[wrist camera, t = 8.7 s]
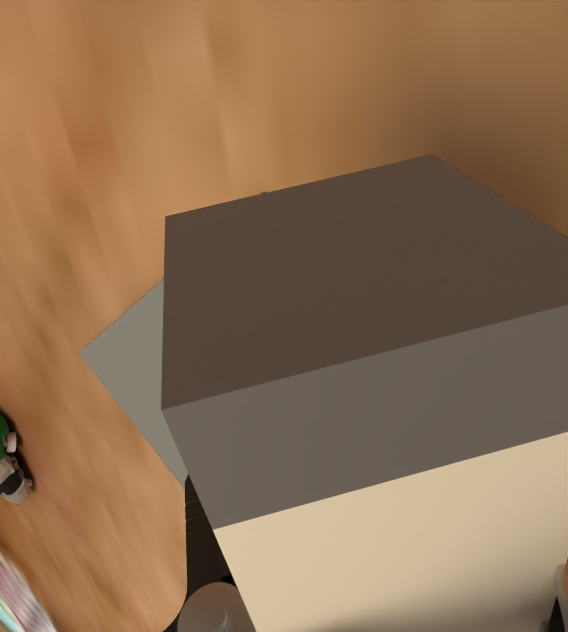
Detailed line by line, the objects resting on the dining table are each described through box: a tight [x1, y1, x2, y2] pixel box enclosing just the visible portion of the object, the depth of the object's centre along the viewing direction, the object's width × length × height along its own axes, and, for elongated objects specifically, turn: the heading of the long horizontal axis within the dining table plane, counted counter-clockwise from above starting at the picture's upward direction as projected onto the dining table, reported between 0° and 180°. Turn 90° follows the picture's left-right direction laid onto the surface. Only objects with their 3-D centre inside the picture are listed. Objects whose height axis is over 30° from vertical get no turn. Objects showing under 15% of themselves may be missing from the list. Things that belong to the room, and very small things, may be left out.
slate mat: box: [79, 192, 266, 489], centre depth 35 cm, size 20×24×1 cm
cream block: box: [161, 154, 568, 632], centre depth 11 cm, size 5×5×14 cm
